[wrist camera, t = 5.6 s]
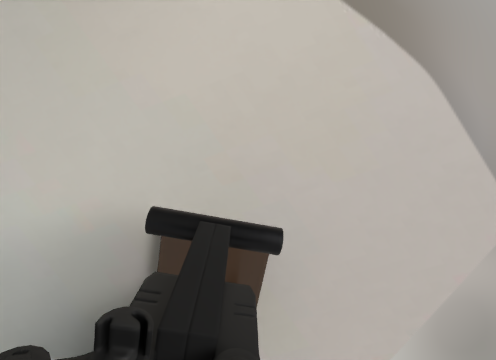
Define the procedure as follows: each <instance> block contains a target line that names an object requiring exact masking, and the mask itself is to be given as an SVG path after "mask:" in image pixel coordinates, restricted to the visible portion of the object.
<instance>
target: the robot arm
mask: <svg viewBox="0 0 496 360" xmlns="http://www.w3.org/2000/svg"><path fill="white" fill-rule="evenodd" d="M230 232H231V226H227V225H221V224H215V223H209V222H203V221H200V222H199V225H198V227H197V230H196V233H195V235H194V238H193V240H192V243H191V245H190V248H189V250H188V253H187V255H186V258H185V260H184V263H183V265H182V268H181V271H180V273H179V275H174V274H168V273H162V272H154V273H153V274H152V275H150V276H149V277H147V278H146V279H145V280H144V282H143V284H142V285H141V287H140V289H139V291H138V292H137V294H136V296H135V297H134V300H133V301H132V303H131V304H130V306H129V307H121V308H117V309H113V310H111V311H109V312H108V313H106V314H104V315H102V317H101V318H100V319H99V320H98V321H97V322H96V323H95V339H94V351H92V352H90V353H87V354H85V355H81V356H77V357H71V358H64V359H57V360H260V357H259V347H258V330H257V318H256V317H257V312H256V295H255V294H254V292H253V290H252V289H251V287H250V285H243V284H237V283H231V282H225V275H226V266H227V258H228V249H229V240H230ZM0 360H51V358H50V355H49V352H48V351H46V350H45V349H44V348H42V347H38V346H32V345H29V346H21V347H16V348H13V349H10V350H7V351H5V352H2V353H0Z"/></svg>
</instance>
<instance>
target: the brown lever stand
mask: <svg viewBox="0 0 496 360" xmlns="http://www.w3.org/2000/svg"><path fill="white" fill-rule="evenodd" d="M191 243H192V241H189V240H183V239H177V238H171V237H165V236H161V244H160V252H159V261H158V269H157V272H162V273H168V274H174V275H179V273H180V271H181V268H182V265H183V263H184V260H185V258H186V255H187V253H188V250H189V248H190V245H191ZM268 256H269V254H267V253H261V252H255V251H249V250H243V249H237V248H231V247H229V249H228V258H227V266H226V275H225V282H231V283H237V284H243V285H250V287H251V289H252V290H253V292H254V294H255V295H256V307H257V303H258V299H259V294H260V290H261V286H262V282H263V277H264V273H265V269H266V264H267V260H268Z"/></svg>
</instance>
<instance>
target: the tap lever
mask: <svg viewBox="0 0 496 360" xmlns="http://www.w3.org/2000/svg"><path fill="white" fill-rule="evenodd" d="M200 221H203V222H209V223H215V224H221V225H227V226H231V232H230V240H229V247H231V248H237V249H243V250H249V251H255V252H261V253H267V254H273V255H279V254H280V252H281V249H282V244H283V229H282V228H277V227H271V226H265V225H260V224H254V223H248V222H242V221H236V220H231V219H225V218H219V217H213V216H207V215H202V214H196V213H190V212H184V211H178V210H173V209H167V208H161V207H155V206H153V207H151V209H150V210H149V213H148V215H147V219H146V224H145V231H146V233H147V234H153V235H159V236H165V237H171V238H177V239H183V240H189V241H192V240H193V238H194V235H195V233H196V230H197V227H198V225H199V222H200Z"/></svg>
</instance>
